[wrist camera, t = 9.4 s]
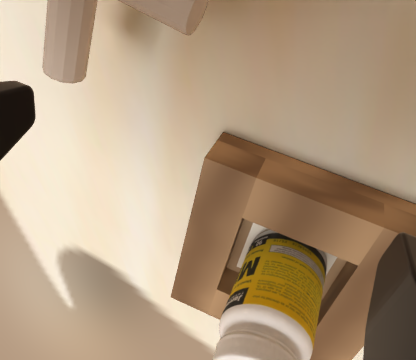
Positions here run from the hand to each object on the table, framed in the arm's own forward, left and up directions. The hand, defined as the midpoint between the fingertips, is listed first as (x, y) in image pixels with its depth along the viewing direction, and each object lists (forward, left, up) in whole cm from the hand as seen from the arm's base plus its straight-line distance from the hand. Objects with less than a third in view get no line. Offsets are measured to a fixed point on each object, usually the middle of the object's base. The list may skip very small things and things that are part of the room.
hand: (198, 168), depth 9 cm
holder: (-4, +12, -12) cm, 17 cm away
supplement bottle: (-4, +12, -11) cm, 17 cm away
